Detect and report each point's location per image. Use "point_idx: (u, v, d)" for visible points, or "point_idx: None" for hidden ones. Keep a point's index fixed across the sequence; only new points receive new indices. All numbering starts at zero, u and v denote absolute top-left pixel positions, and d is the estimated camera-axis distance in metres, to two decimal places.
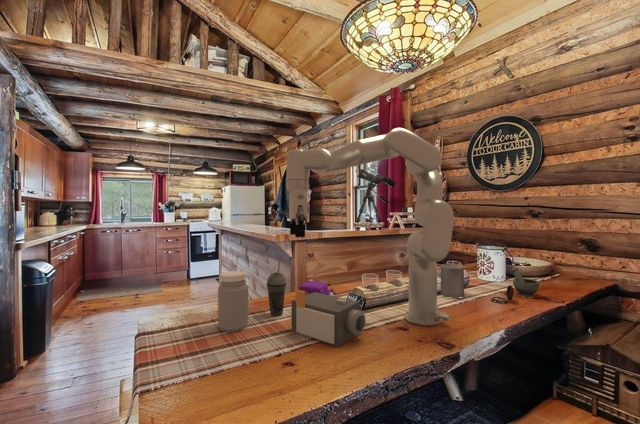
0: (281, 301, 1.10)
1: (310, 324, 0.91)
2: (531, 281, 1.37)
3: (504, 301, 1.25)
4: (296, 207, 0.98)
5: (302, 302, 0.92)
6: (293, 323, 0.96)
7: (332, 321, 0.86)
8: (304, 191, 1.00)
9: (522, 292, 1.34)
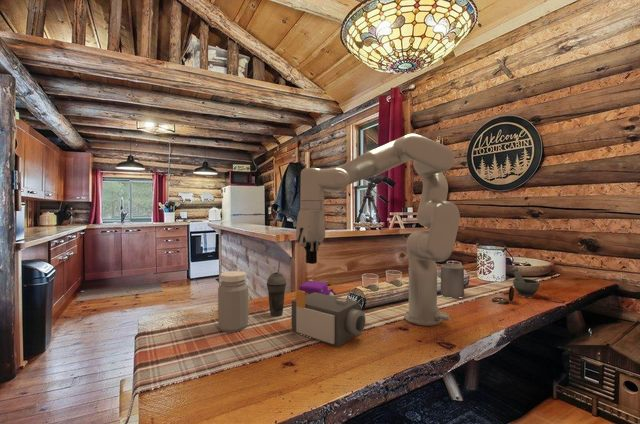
0: (281, 301, 1.10)
1: (310, 324, 0.91)
2: (531, 281, 1.37)
3: (504, 302, 1.25)
4: None
5: (302, 302, 0.92)
6: (293, 323, 0.96)
7: (332, 321, 0.86)
8: None
9: (522, 292, 1.34)
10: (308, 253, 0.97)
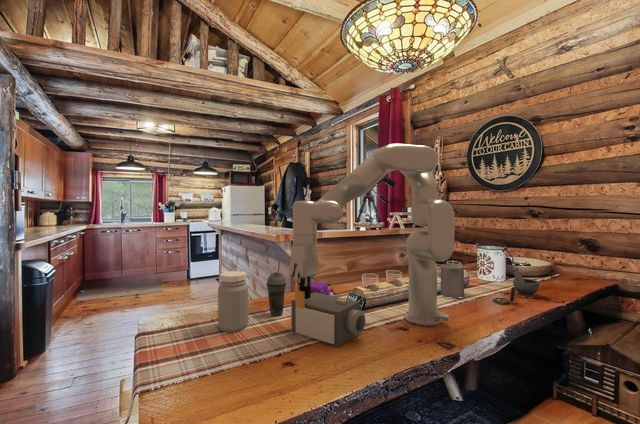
0: (281, 301, 1.10)
1: (310, 324, 0.90)
2: (531, 281, 1.37)
3: (505, 302, 1.24)
4: None
5: (301, 302, 0.92)
6: (293, 323, 0.96)
7: (332, 321, 0.86)
8: None
9: (522, 292, 1.34)
10: (302, 288, 0.94)
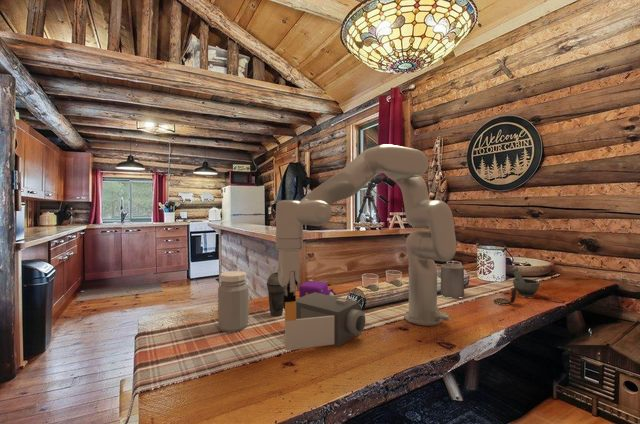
0: (281, 301, 1.10)
1: (305, 334, 0.83)
2: (531, 281, 1.37)
3: (505, 303, 1.23)
4: None
5: (294, 314, 0.82)
6: None
7: (333, 321, 0.85)
8: None
9: (522, 292, 1.34)
10: (290, 298, 0.83)
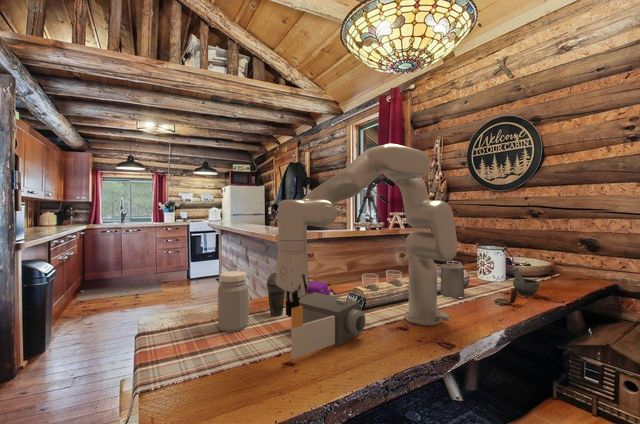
0: (281, 301, 1.10)
1: (311, 339, 0.81)
2: (531, 281, 1.37)
3: (504, 303, 1.23)
4: None
5: (301, 319, 0.79)
6: None
7: (334, 321, 0.85)
8: None
9: (522, 292, 1.34)
10: (295, 304, 0.79)
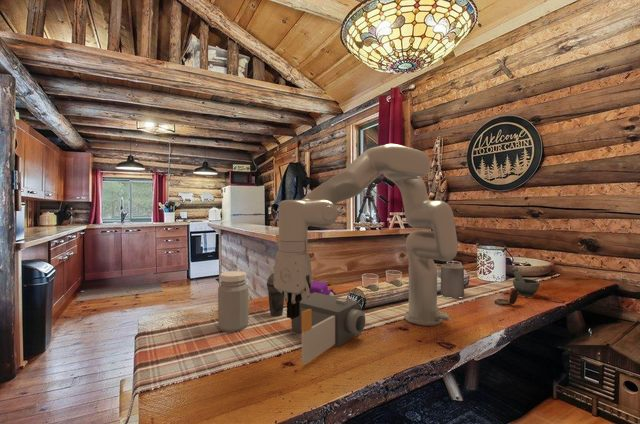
0: (281, 301, 1.10)
1: (317, 341, 0.79)
2: (531, 281, 1.37)
3: (504, 303, 1.22)
4: None
5: (310, 322, 0.76)
6: (293, 323, 0.96)
7: (334, 321, 0.85)
8: None
9: (522, 292, 1.34)
10: (297, 305, 0.78)
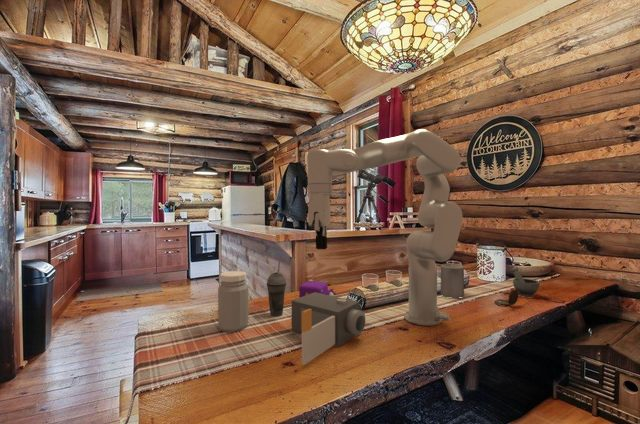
0: (281, 301, 1.10)
1: (317, 341, 0.79)
2: (531, 281, 1.37)
3: (503, 304, 1.22)
4: None
5: (310, 322, 0.76)
6: (293, 323, 0.96)
7: (334, 321, 0.85)
8: None
9: (522, 292, 1.34)
10: (320, 238, 0.93)
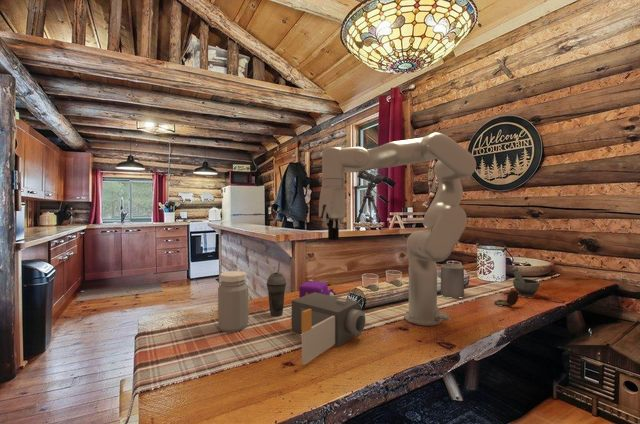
0: (281, 301, 1.10)
1: (317, 341, 0.79)
2: (531, 281, 1.37)
3: (502, 304, 1.21)
4: None
5: (310, 322, 0.76)
6: (293, 323, 0.96)
7: (334, 321, 0.85)
8: None
9: (522, 292, 1.34)
10: (330, 230, 1.00)
